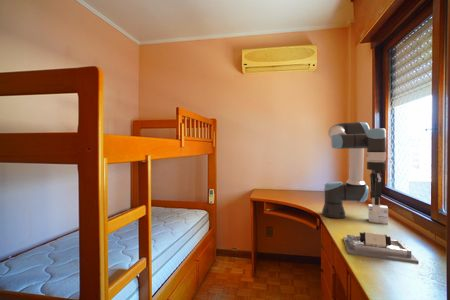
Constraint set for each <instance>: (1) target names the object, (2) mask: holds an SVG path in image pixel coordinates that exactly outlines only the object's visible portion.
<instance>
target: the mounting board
mask: <svg viewBox="0 0 450 300" xmlns="http://www.w3.org/2000/svg"><path fill="white" fill-rule="evenodd" d="M342 240H343V242H344V246H345V248H346V252H347V254H348V255H353V256H361V257H367V258H377V259H381V260H382V259H384V260H390V261H400V262H404V263H405V262H406V263H412V264H419V263H420V261H419V260H418V259H417V257H415V256H414V255H413V253H411V257H407V256H399V255H391V254H384V253H376V252H368V251H360V250H353V249H350V246H349V244H348V241H347V236H343V237H342Z"/></svg>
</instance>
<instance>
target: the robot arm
mask: <svg viewBox="0 0 450 300" xmlns="http://www.w3.org/2000/svg"><path fill="white" fill-rule="evenodd" d="M327 133H328V136H329V138H330V139H331V140H330V146H331V149H335V150H336V149H337V150H339V149H346V150H347V149H348V150H349V152H348V153H349V155H348V179H347V180H345V181H346V182H345V183H343V181H330V182H329V181H328V182H326V183H325V184H324V190H323V191H324V204H323V206H322V207H323V208H322V211H321V214H322V216H325V217H328V218H331V219H332V218H333V219H335V218H336V219H340V218H341V219H343V218H346V210H345V208H344V206H343V205H344V204H343V202H353V203H364V202H366V201H367V200H368V196H369V186H368V185H367V184H366V182H365V181H364V165H365V164H364V162H365V161H364V160H365V159H364V157H366V160H367V161H366V169H367V170H369V171H371V173H370V174H369V179H370V195H371V201H372V202H371V204H372V211H373V212H380V205H381V204H380V203H381V202H380V201H381V198H382V192H383V191H382V189H383V182H384V178H383V174H382V171H385V170H386V167H387V163H386V162H385V161H387V148H386V147H387V145H386V144H387V130H386V128H383V127H382V128H379V127H378V128H377V127H376V128H370V126H369V124H368V123H367V122H365V121H364V122H362V121H357V122H356V121H355V122H339V123H336V124H334V125H332V126H331V127H330V128H329V130H328V132H327ZM365 149H366V154H365Z"/></svg>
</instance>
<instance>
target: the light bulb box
mask: <svg viewBox="0 0 450 300" xmlns="http://www.w3.org/2000/svg"><path fill="white" fill-rule="evenodd" d="M388 207H389V206H388V205H383V204H382V205H381V204H380V212H373V211H372V203H371V204H369V203H368V222H370V223H377V224H384V225H389V208H388Z"/></svg>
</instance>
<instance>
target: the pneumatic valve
mask: <svg viewBox="0 0 450 300" xmlns="http://www.w3.org/2000/svg"><path fill="white" fill-rule="evenodd" d="M359 236H360V242H363V243H364V245H372V246H376V247H387V246H391V240H392V239H391V236H390V235H388V234H385V233H384V234H383V233H375V232H374V233H373V232H365V231H363V232H359Z"/></svg>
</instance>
